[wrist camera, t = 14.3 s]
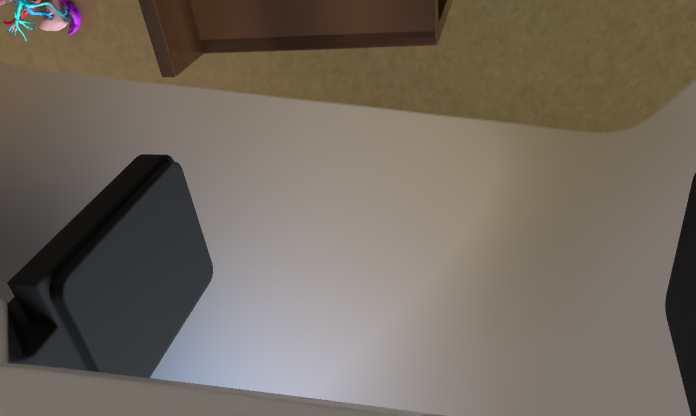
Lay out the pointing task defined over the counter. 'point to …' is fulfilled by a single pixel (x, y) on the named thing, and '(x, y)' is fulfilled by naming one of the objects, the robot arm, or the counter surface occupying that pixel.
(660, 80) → the counter surface
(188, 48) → the shelf
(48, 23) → the anatomy model
